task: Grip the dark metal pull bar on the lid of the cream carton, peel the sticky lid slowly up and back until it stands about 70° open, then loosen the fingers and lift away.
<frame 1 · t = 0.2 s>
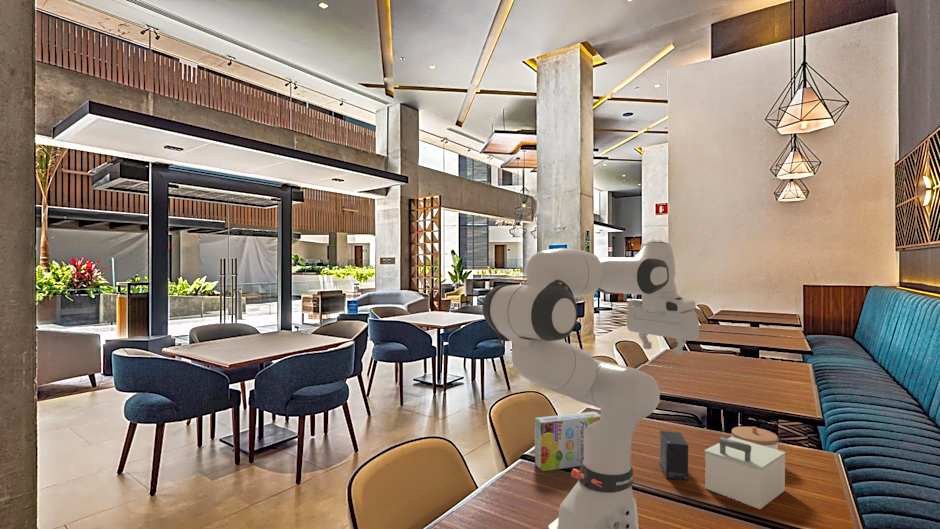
hand: (662, 351, 129), 39 cm above the table, tool pointing down, fingers open, 8 cm apart
snack box: (569, 465, 149), on the table
lid: (744, 444, 132), point 12 cm above the table, hinge at 0.0°
carton: (744, 489, 132), on the table
small box: (673, 472, 143), on the table
lidded bowl: (754, 462, 150), on the table
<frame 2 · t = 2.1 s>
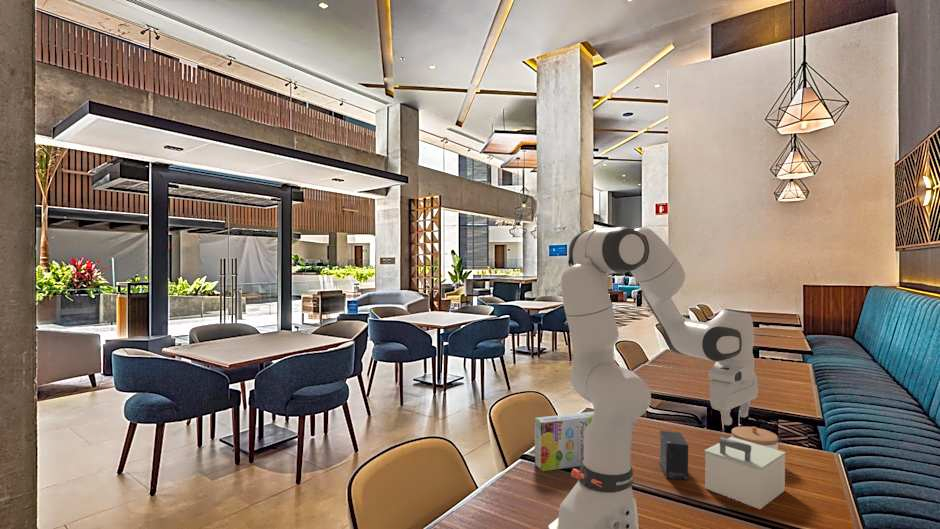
hand: (735, 420, 128), 20 cm above the table, tool pointing down, fingers open, 8 cm apart
nothing on the table moved.
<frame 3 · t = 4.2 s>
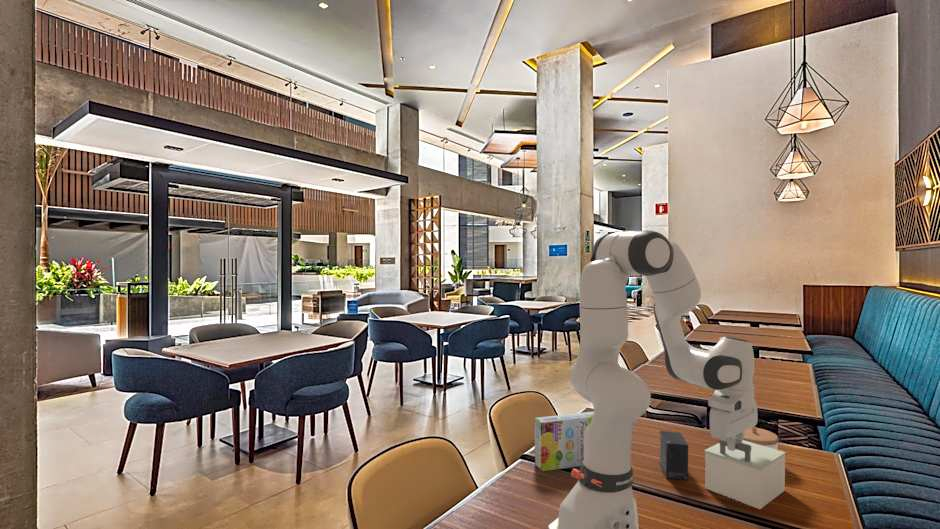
hand: (734, 448, 128), 13 cm above the table, tool pointing down, fingers closed on lid, 2 cm apart
lid: (744, 444, 132), point 12 cm above the table, hinge at 0.0°, touching gripper
everything else where it was.
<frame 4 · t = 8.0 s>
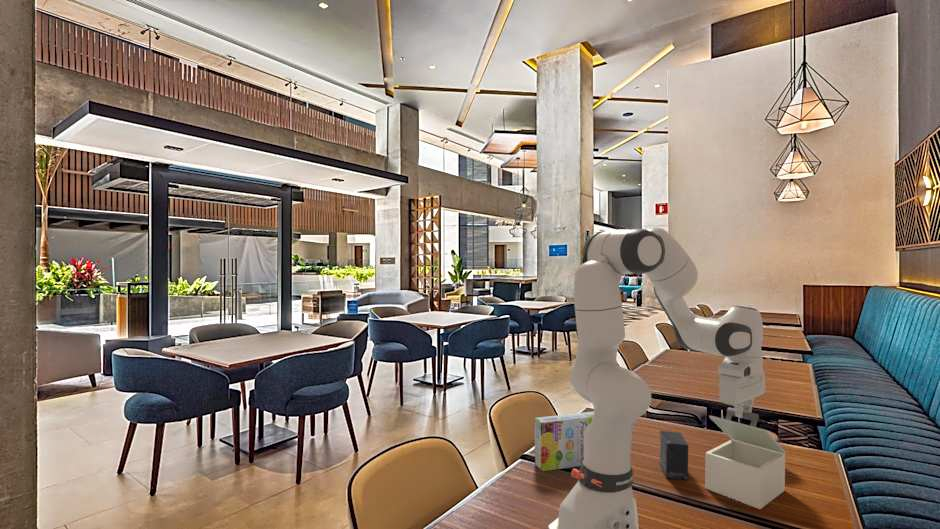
hand: (743, 415, 131), 21 cm above the table, tool pointing down, fingers open, 3 cm apart
lid: (749, 427, 133), point 17 cm above the table, hinge at 34.6°, touching gripper
everything else where it was.
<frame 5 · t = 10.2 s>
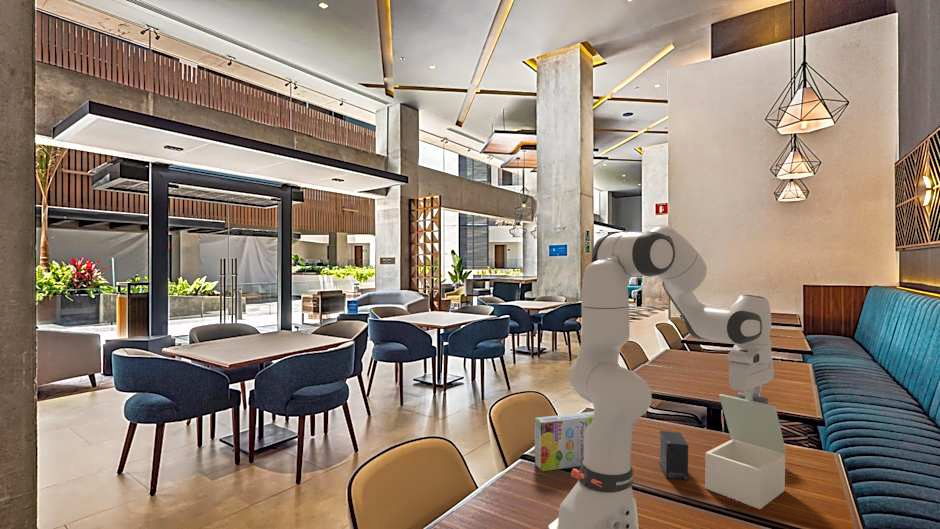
hand: (752, 401, 135), 24 cm above the table, tool pointing down, fingers closed, pressing on lid
lid: (754, 418, 136), point 19 cm above the table, hinge at 62.4°, touching gripper
everything else where it was.
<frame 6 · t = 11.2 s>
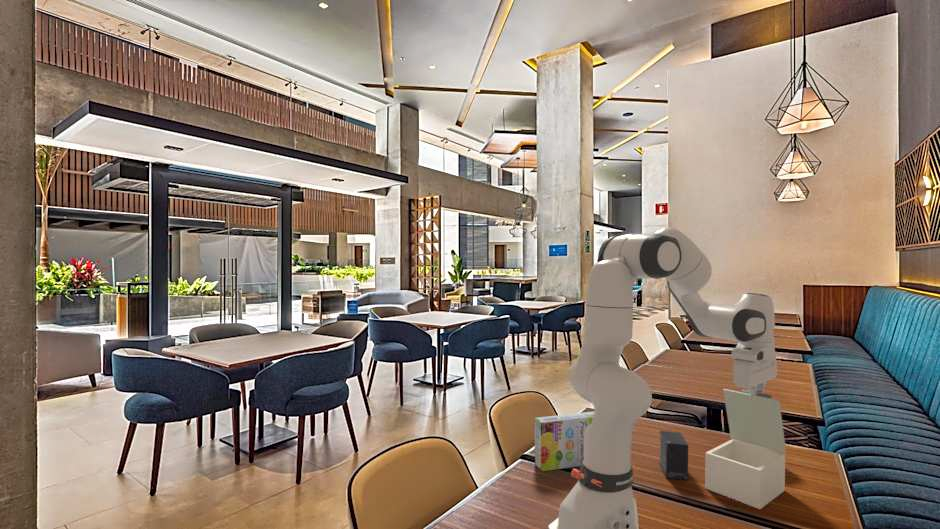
hand: (756, 398, 136), 24 cm above the table, tool pointing down, fingers closed on lid, 2 cm apart
lid: (756, 416, 136), point 19 cm above the table, hinge at 72.4°, touching gripper
everything else where it was.
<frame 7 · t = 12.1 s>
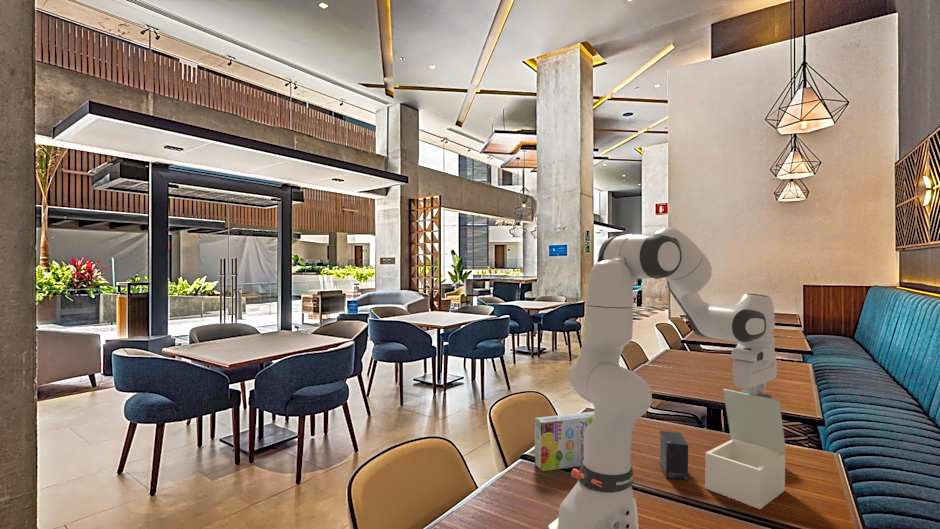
hand: (756, 398, 136), 24 cm above the table, tool pointing down, fingers open, 3 cm apart
lid: (756, 416, 136), point 19 cm above the table, hinge at 72.3°, touching gripper
everything else where it was.
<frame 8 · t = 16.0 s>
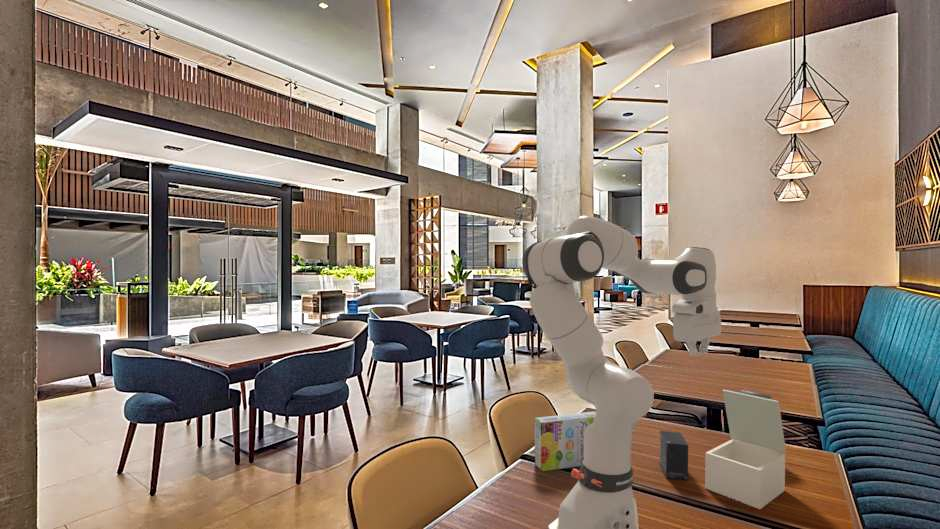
hand: (698, 354, 134), 37 cm above the table, tool pointing down, fingers open, 4 cm apart
lid: (756, 416, 136), point 19 cm above the table, hinge at 70.7°
everything else where it was.
at the end: lid at +71° (first picture: +0°); the gripper is holding nothing; small box moved 0.3 cm from its start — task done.
